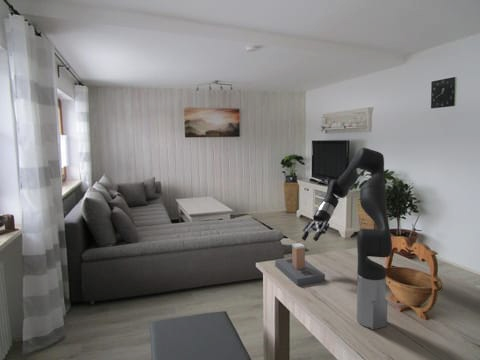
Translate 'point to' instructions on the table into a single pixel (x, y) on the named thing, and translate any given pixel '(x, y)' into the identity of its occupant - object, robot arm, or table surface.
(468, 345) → the table surface
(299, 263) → the plug
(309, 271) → the grey flat rectangular block
